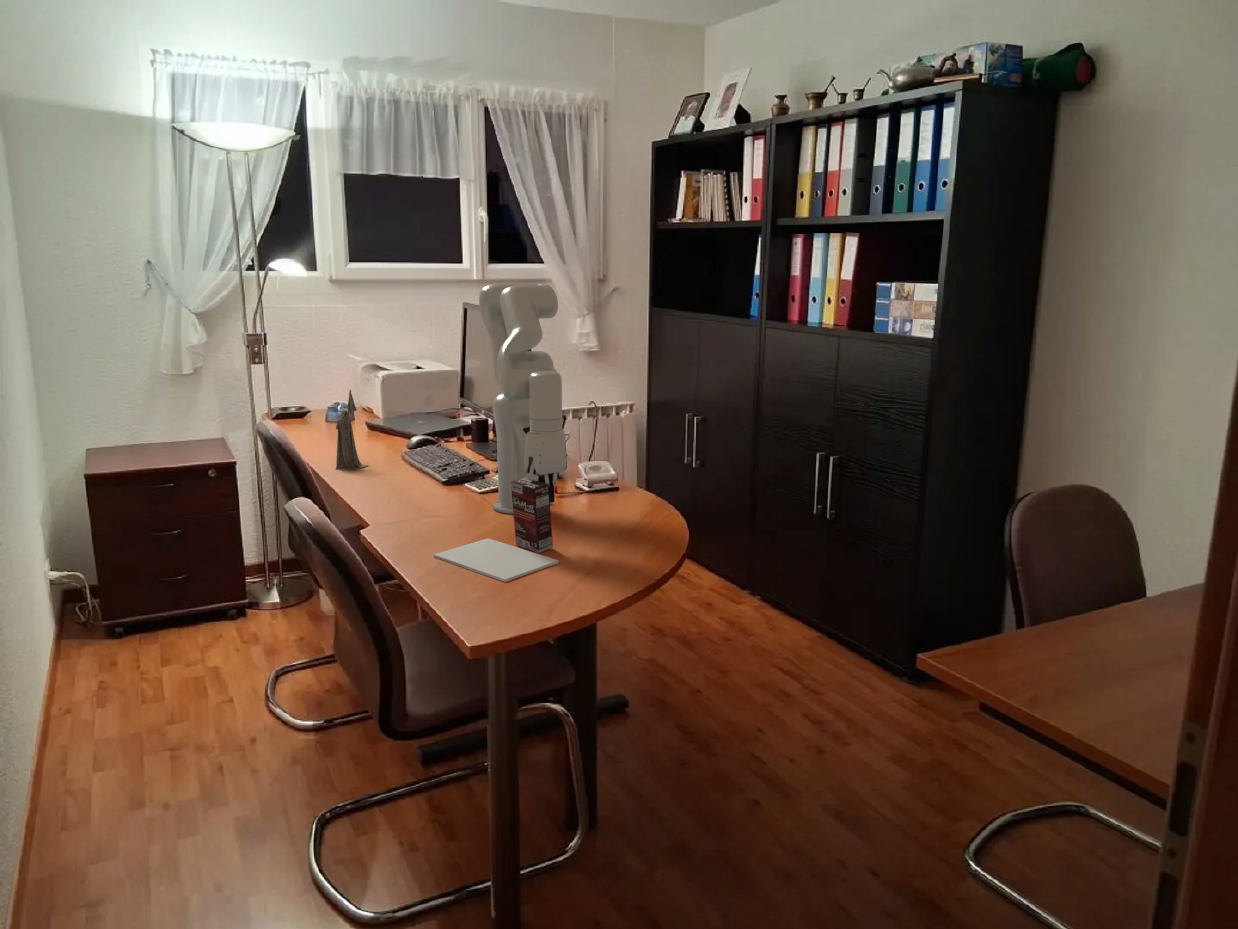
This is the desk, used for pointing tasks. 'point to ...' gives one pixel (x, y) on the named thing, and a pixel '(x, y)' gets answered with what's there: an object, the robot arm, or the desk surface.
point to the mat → (496, 559)
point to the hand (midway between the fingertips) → (547, 501)
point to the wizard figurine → (347, 440)
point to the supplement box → (532, 514)
